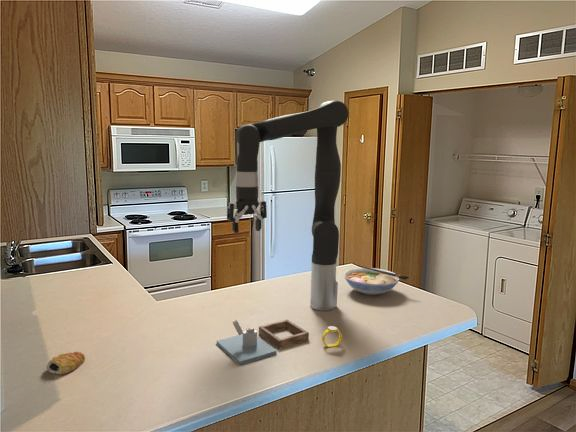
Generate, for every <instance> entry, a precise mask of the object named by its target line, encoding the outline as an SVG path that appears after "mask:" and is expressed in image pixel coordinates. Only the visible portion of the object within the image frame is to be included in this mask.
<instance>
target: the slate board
mask: <svg viewBox="0 0 576 432" xmlns="http://www.w3.org/2000/svg"><path fill="white" fill-rule="evenodd" d="M216 345H217V346H218V347H219V348H220V349H222V351H223V352H225V354H227V355H228V356H230V358H231V359H233V360H234V361H235V362H236V363H237V364H238V365H239V366H241V365H245V364H247V363H251V362H254V361H257V360H262V359H264V358H268V357H270V356H274V355H277V353H278V352H277V350H276V349H275V348H274V347H272V346H271V345H269V344H268V343H267V342H265V341H264V340H263V339H261V338H260V337H259V336H257V346H251V347H243V334H241V335H239V334H237V335H235V336H229V337H227V338H223V339H222V338H221V339H219V340H216Z"/></svg>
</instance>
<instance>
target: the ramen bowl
mask: <svg viewBox="0 0 576 432" xmlns="http://www.w3.org/2000/svg"><path fill="white" fill-rule="evenodd" d="M343 276H344V279H345V280H346V282H347V283H348V285H349V286H350V287H351V288H352V289H353V290H355V291H357V292H360V293H361V294H364V295H367V296H378V295H380V294H381V295H382V294H385V293H388V292H389V291H391V290H393V288H395V286H396V285H397V284H398V282H399V281H400V279H402V280H407V279H409V276H406V275H402V274H397V273H395V272H393V271H391V270H387V269H381V268H377V267H376V268H374V267H368V266H367V267H366V266H362V265H356V268H355V267H354V268H350V269H348V270H345V271H344V273H343Z"/></svg>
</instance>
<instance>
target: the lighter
mask: <svg viewBox="0 0 576 432" xmlns="http://www.w3.org/2000/svg"><path fill="white" fill-rule="evenodd" d="M232 325H233V326H234V328H235V331H236V332H237V335H241V334H243V347H251V346H257V337H258V331H257V329H255V328H253V327H247V328H246V330H242V327H241V326H240V324H239V322H238V320H237V319H235V320H234V321H232Z"/></svg>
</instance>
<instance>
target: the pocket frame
mask: <svg viewBox="0 0 576 432" xmlns="http://www.w3.org/2000/svg"><path fill="white" fill-rule="evenodd" d="M283 329H287V330H288V331H290V332H291V333H294V334H293V335H289V336H285V337H282V338H280V337H278V336H277V335H276V334H274V333H273V332H276V331H280V330H283ZM258 334H259V335H260V336H261V337H263V338H264V339H265V340H267V341H268V342H270V343H271V344H273V345H274V347H276V348H277V349H282V348H285V347H289V346H292V345H295V344H300V343H303V342H305V341H306V342H307V341H308V340H309V336H310V333H309V332H308V331H307V330H305V329H304V328H302V327H300V326H298V325H297V324H296V323H295V322H294V323H293V322H292V321H290V320H289V319H284V320H280V321H277V322H272V323H267V324H264V325H260V326H258Z"/></svg>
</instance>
